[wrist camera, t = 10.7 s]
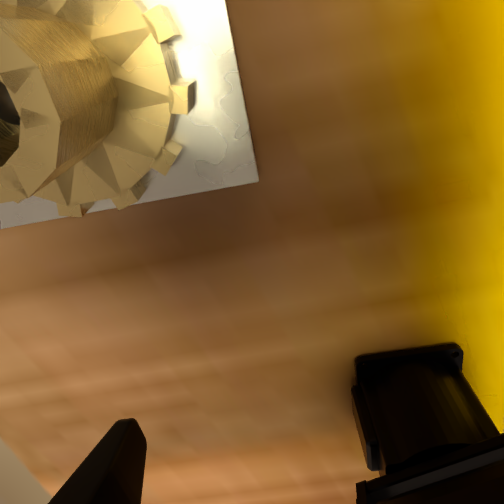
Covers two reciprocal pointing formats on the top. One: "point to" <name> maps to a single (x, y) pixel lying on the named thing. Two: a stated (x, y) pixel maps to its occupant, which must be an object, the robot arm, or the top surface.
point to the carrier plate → (182, 117)
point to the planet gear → (87, 100)
